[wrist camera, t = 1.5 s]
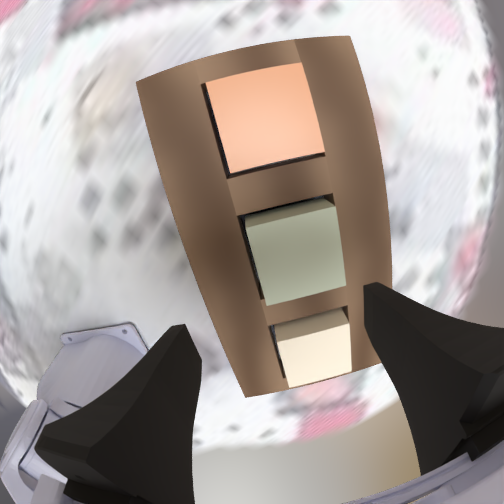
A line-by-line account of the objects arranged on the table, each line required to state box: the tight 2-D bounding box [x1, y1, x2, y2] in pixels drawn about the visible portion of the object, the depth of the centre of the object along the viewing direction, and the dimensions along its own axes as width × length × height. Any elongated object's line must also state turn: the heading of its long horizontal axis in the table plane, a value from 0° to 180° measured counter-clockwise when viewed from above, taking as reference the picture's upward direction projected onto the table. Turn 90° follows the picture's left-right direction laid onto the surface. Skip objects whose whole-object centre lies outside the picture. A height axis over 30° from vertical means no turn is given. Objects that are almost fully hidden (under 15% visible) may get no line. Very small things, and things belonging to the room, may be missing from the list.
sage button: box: [245, 198, 346, 306], centre depth 17 cm, size 5×5×2 cm
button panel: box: [136, 36, 392, 398], centre depth 18 cm, size 13×25×2 cm, turn 14°
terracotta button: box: [206, 62, 325, 173], centre depth 14 cm, size 5×5×2 cm
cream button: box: [274, 307, 352, 388], centre depth 20 cm, size 5×5×2 cm
